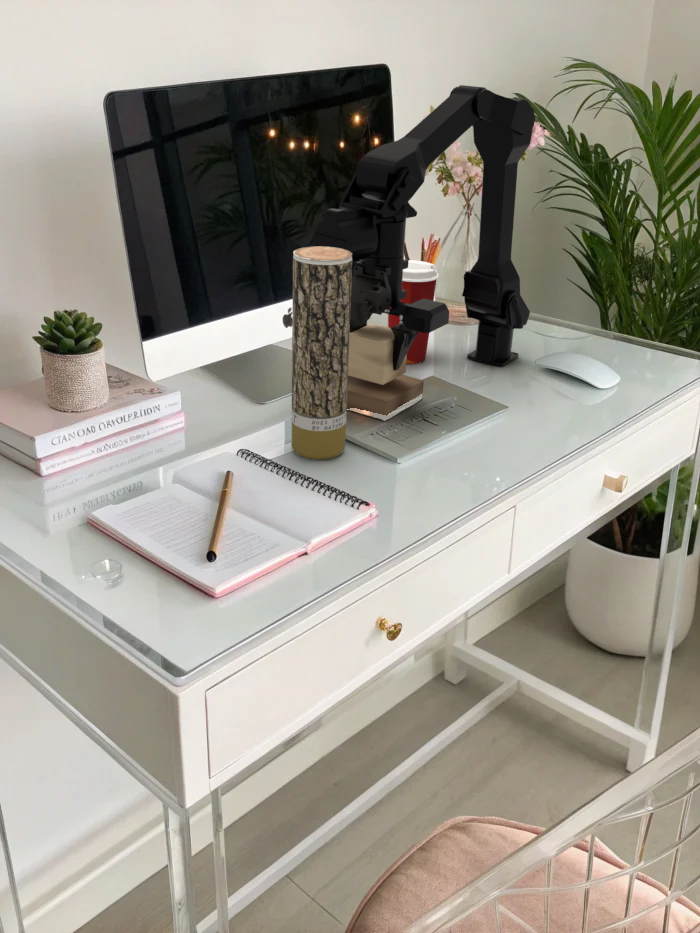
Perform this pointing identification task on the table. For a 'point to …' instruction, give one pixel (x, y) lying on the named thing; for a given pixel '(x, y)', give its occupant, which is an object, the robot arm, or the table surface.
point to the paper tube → (320, 350)
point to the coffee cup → (419, 286)
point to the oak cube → (373, 354)
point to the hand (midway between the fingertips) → (376, 364)
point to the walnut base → (382, 393)
